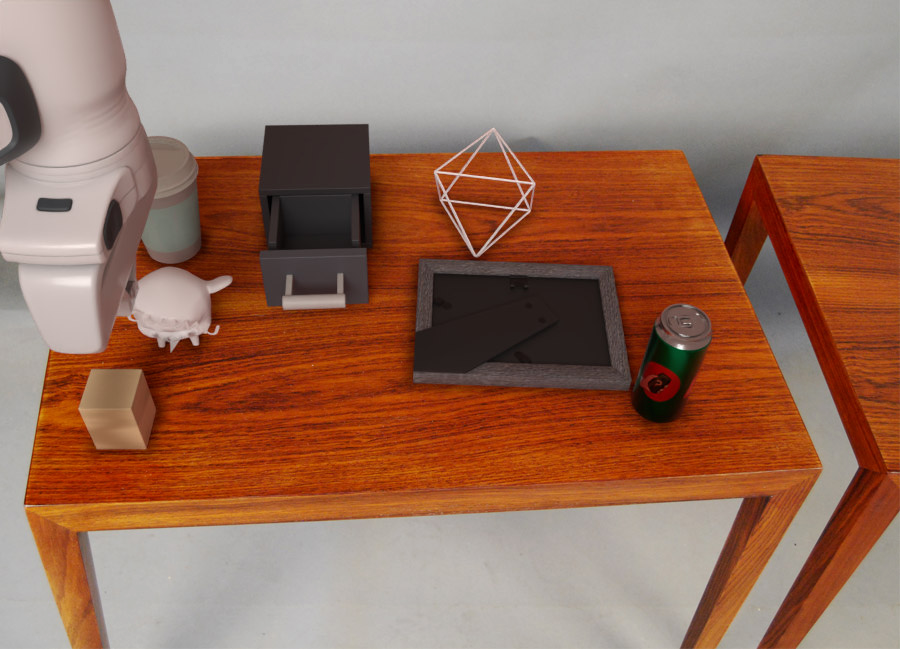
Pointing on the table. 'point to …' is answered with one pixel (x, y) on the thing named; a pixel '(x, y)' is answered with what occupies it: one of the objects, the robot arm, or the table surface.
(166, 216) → the coffee cup
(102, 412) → the block
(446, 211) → the geometric polyhedron
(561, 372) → the picture frame
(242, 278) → the table surface
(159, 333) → the figurine
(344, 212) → the open drawer with handle
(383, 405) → the table surface
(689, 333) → the soda can
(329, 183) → the dark grey box
